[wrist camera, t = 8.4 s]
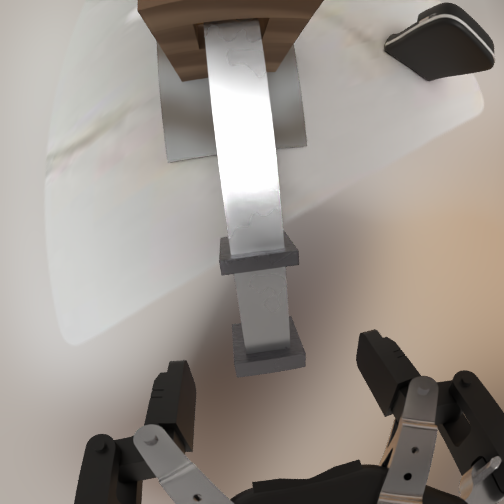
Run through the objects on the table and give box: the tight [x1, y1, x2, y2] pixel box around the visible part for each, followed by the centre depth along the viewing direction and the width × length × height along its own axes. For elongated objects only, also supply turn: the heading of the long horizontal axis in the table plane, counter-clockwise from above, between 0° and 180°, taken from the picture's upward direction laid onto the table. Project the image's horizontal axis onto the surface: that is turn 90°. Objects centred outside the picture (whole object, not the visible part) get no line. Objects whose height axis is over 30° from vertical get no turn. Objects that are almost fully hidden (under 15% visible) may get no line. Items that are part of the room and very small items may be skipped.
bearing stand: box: [137, 0, 324, 163], centre depth 13 cm, size 20×12×14 cm, turn 6°
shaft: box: [203, 18, 306, 377], centre depth 15 cm, size 21×4×4 cm, turn 6°
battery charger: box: [385, 3, 495, 81], centre depth 15 cm, size 7×4×11 cm, turn 71°
